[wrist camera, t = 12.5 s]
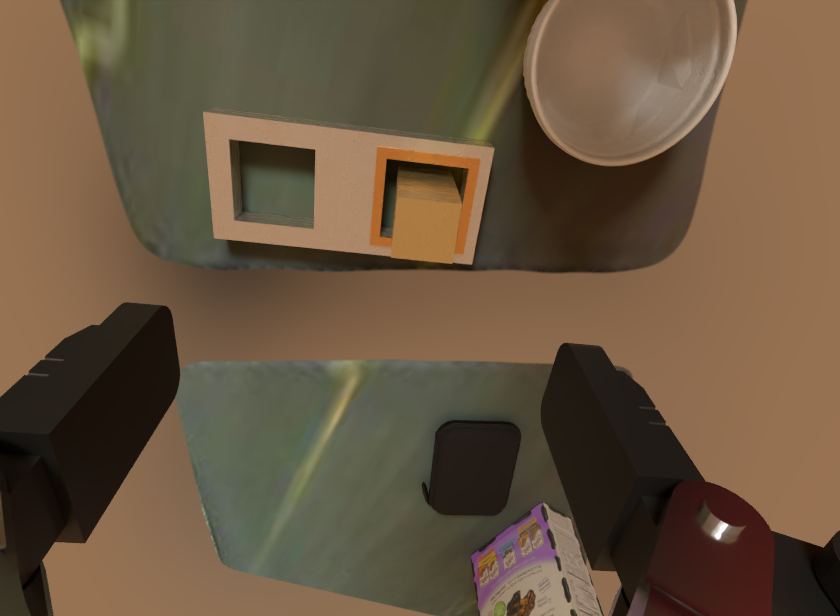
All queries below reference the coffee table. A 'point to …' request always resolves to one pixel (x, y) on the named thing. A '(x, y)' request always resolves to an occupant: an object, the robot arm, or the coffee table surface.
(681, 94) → the ramekin
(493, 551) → the candy box
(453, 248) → the tan wooden block
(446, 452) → the carrying case or bag
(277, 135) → the plate with square holes
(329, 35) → the coffee table surface
